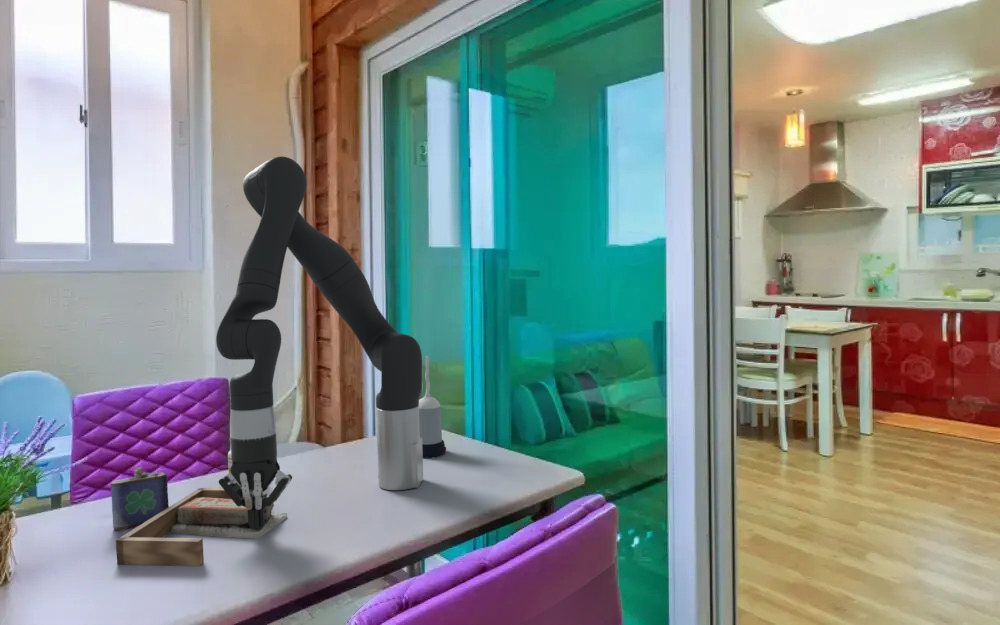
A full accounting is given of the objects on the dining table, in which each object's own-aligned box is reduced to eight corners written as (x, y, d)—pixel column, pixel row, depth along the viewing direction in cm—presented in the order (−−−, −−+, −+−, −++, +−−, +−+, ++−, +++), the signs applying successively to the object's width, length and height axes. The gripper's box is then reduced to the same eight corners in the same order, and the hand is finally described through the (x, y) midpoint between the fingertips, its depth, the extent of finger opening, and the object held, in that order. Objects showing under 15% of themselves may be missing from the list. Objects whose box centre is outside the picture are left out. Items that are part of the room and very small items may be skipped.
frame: (267, 508, 125) (266, 488, 125) (199, 565, 101) (198, 541, 100) (200, 507, 126) (199, 488, 126) (117, 564, 102) (115, 540, 102)
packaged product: (167, 510, 114) (202, 490, 123) (168, 536, 114) (204, 514, 124) (257, 514, 110) (286, 494, 120) (258, 541, 111) (288, 519, 120)
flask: (113, 532, 115) (109, 474, 114) (113, 526, 117) (110, 470, 117) (170, 521, 120) (167, 465, 119) (169, 516, 122) (166, 461, 122)
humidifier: (451, 452, 161) (449, 355, 159) (427, 460, 155) (425, 359, 153) (430, 447, 166) (427, 353, 165) (406, 454, 160) (403, 357, 158)
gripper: (298, 426, 114) (302, 520, 115) (227, 427, 115) (232, 520, 116) (281, 437, 107) (285, 537, 107) (206, 437, 107) (210, 536, 108)
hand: (257, 528), depth 112 cm, fingers closed
